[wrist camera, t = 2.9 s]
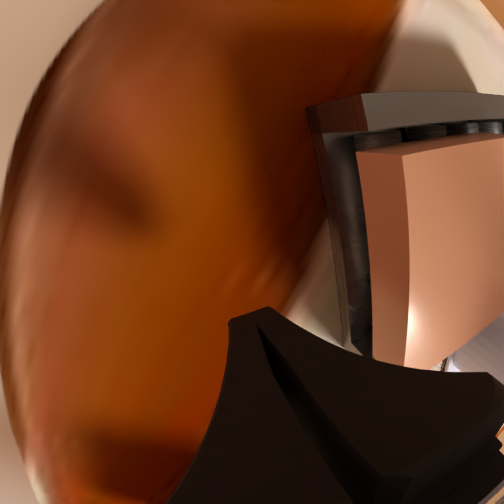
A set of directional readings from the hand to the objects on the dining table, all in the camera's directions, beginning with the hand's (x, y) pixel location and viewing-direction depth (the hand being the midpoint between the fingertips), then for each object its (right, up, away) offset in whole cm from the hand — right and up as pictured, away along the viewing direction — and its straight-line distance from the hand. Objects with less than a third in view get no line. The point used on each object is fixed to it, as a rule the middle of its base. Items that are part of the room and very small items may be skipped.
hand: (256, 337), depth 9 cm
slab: (+8, +3, +2) cm, 9 cm away
